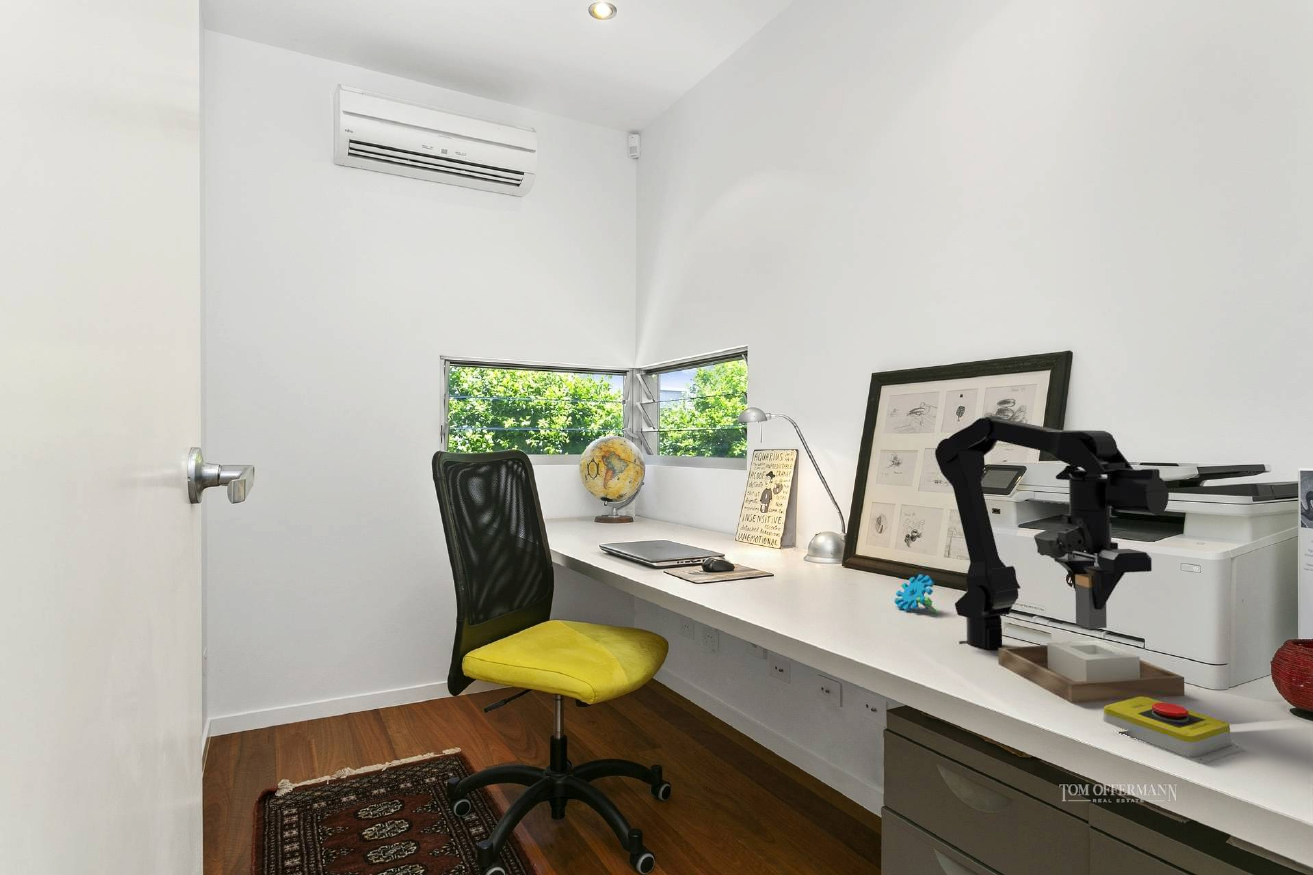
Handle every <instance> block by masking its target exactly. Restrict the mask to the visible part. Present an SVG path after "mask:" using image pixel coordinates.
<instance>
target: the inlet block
mask: <svg viewBox="0 0 1313 875" xmlns="http://www.w3.org/2000/svg"><path fill="white" fill-rule="evenodd" d="M1046 645H1048V669H1050V670H1052V671H1054V672H1056V673H1058V674H1060V675H1062V676H1064V677H1066V678H1068V679H1070V680H1072V681H1075V682H1083V681H1099V680H1115V679H1131V678H1140V660H1141V656H1139V655H1136V654H1134V653H1131V652H1128V651H1127V650H1123V649H1122V648H1118V647H1116V646H1113V645H1111V644H1108V643H1105V642H1103V641H1101V640H1098V639H1097V640H1079V641H1078V640H1077V641H1063V642H1048V643H1047V644H1046Z"/></svg>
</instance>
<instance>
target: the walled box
mask: <svg viewBox="0 0 1313 875" xmlns="http://www.w3.org/2000/svg"><path fill="white" fill-rule="evenodd" d="M997 651H998V653H997V654H998V665H999V666H1001V667H1003V668H1005V669H1006V670H1009V671H1010V672H1011V673H1014V674H1016V675H1017V676H1019V677H1022V678H1024V679H1026V680H1027V681H1029V682H1031V683H1032V684H1034V685H1036V686H1039V687H1041V688H1043V689H1044V690H1046V691H1048V692H1049V693H1051V694H1053V695H1055V696H1057V697H1059V698H1061V699H1062V700H1064V701H1066V702H1068V703H1070V704H1081V703H1084V704H1085V703H1094V702H1095V703H1097V702H1110V701H1125V700H1129V699H1132V698H1136V697H1148V698H1151V699H1155V698H1157V699H1158V698H1172V697H1184V696H1185V695H1186V694H1185V677H1184V676H1182V675H1181V674H1180V675H1179V674H1177V673H1176V672H1175V673H1174V672H1172V671H1169V670H1167V669H1164V668H1162V667H1159V666H1156V665H1154V664H1152V663H1150V662H1147V661H1144V660H1142V659H1140V678H1131V679H1115V680H1099V681H1083V682H1075V681H1072V680H1070V679H1068V678H1066V677H1064V676H1062V675H1060V674H1058V673H1056V672H1054V671H1052V670H1050V669H1048V644H1046V645H1044V644H1043V645H1032V646H1031V645H1028V646H1014V647H1013V646H1012V647H1008V646H1007V647H1002V648H998V650H997Z"/></svg>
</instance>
